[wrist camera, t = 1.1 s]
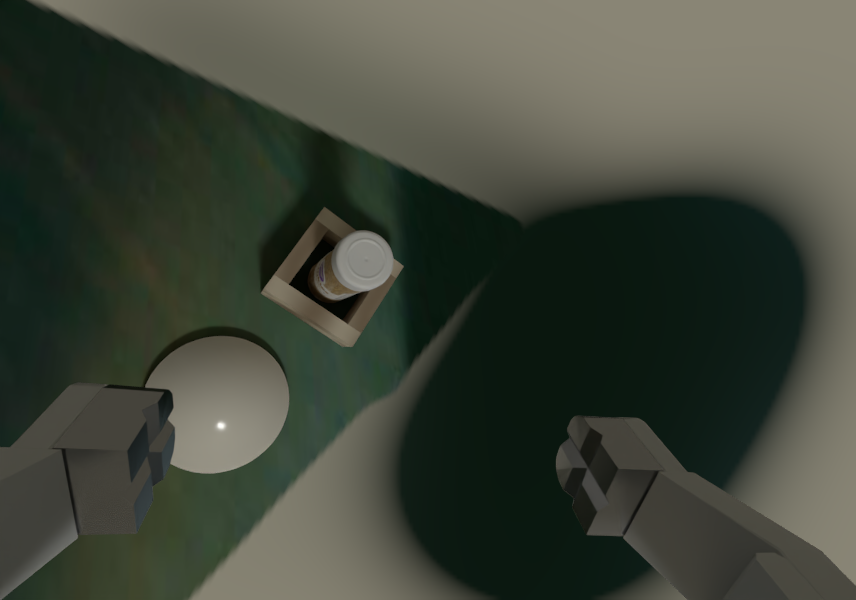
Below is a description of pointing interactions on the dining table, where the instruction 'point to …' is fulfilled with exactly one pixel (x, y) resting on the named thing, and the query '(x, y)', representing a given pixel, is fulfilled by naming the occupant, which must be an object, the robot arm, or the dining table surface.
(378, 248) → the sprinkles bottle
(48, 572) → the dining table surface
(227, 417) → the white domed disc
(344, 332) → the holder collar
